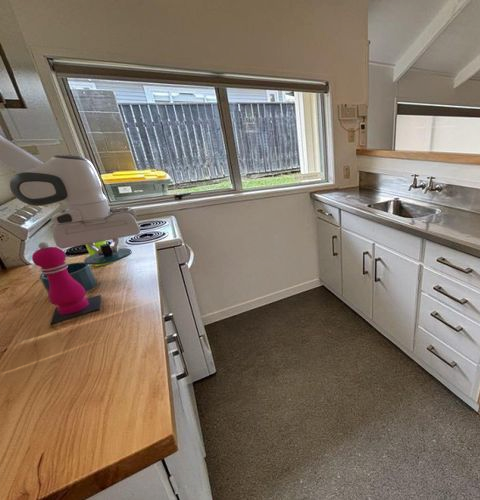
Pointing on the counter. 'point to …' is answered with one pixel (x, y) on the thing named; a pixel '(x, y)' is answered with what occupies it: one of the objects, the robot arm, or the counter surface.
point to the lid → (107, 255)
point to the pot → (76, 276)
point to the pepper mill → (60, 280)
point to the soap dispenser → (97, 245)
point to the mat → (92, 307)
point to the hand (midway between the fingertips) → (107, 253)
